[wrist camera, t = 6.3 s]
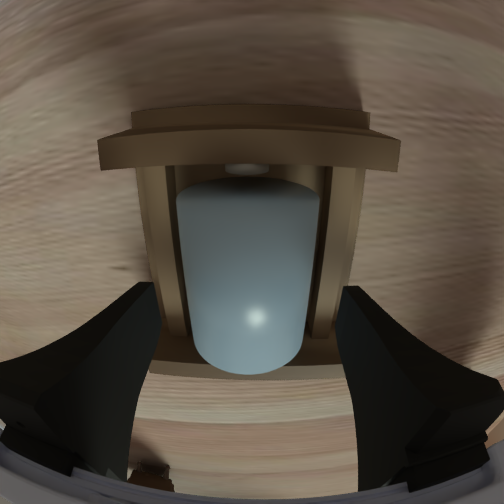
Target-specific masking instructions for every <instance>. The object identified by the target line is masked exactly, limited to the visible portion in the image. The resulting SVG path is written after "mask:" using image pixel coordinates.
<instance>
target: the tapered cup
mask: <svg viewBox="0 0 504 504" xmlns="http://www.w3.org/2000/svg"><path fill="white" fill-rule="evenodd" d="M319 201H320V199H319V196H318V195H317V193H316V192H314V191H313V190H312V189H310V188H308V187H306V186H304V185H301V184H298V183H295V182H291V181H287V180H282V179H276V178H268V177H229V178H220V179H214V180H209V181H205V182H201V183H198V184H195V185H192V186H190V187H188V188H186V189H184V190H183V191H182V192H180V193H179V194H178V196H177V198H176V205H177V216H178V226H179V236H180V245H181V253H182V262H183V270H184V278H185V285H186V292H187V299H188V306H189V313H190V320H191V326H192V332H193V338H194V343H195V346H196V349H197V351H198V352H199V354H200V355H201V356H202V357H203V358H204V359H205V360H206V361H207V362H208V363H210V364H211V365H213V366H215V367H217V368H219V369H221V370H224V371H227V372H230V373H235V374H244V375H252V374H261V373H266V372H270V371H273V370H275V369H278V368H280V367H282V366H284V365H285V364H287V363H288V362H289V361H290V360H292V359H293V358H294V357H295V355H296V354H297V353H298V351H299V350H300V348H301V345H302V340H303V334H304V327H305V321H306V314H307V307H308V299H309V292H310V284H311V276H312V268H313V260H314V251H315V242H316V233H317V223H318V212H319Z"/></svg>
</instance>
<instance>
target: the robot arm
mask: <svg viewBox="0 0 504 504" xmlns="http://www.w3.org/2000/svg"><path fill="white" fill-rule="evenodd" d="M161 327H162V319H161V315H160V310H159V305H158V301H157V296H156V291H155V286H154V282H138V283H137V284H136V285H134V286H133V287H132V288H130V289H129V290H128V291H127V292H125V293H124V294H123V295H122V296H120V297H119V298H118V299H117V300H115V301H114V302H113V303H112V304H110V305H109V306H108V307H107V308H105V309H104V310H103V311H101V312H100V313H99V314H97V315H96V316H95V317H93V318H92V319H90V320H89V321H88V322H86V323H85V324H83V325H82V326H80V327H79V328H77V329H76V330H74V331H73V332H71V333H69V334H68V335H66V336H64V337H62V338H61V339H59V340H57V341H55V342H53V343H51V344H49V345H47V346H45V347H43V348H40V349H38V350H36V351H33V352H31V353H28V354H26V355H23V356H20V357H17V358H14V359H11V360H7V361H4V362H0V419H1V420H2V421H3V422H4V423H5V424H6V426H5V428H4V430H2V429H1V428H0V496H1V497H3V498H4V499H6V500H7V501H9V502H11V503H12V504H504V439H503V440H501V441H499V442H497V443H495V444H493V445H492V446H490V447H489V448H487V449H486V447H485V444H484V442H486V441H487V440H488V436H487V434H486V432H485V431H486V430H487V429H488V428H489V426H490V425H491V424H492V423H493V422H494V421H495V420H496V419H497V418H498V417H499V416H500V414H501V413H502V412H503V410H504V391H503V389H502V387H501V385H500V383H499V381H498V380H497V379H495V378H492V377H489V376H486V375H484V374H481V373H478V372H475V371H473V370H471V369H469V368H467V367H464V366H462V365H460V364H458V363H456V362H454V361H452V360H450V359H449V358H447V357H445V356H443V355H442V354H440V353H438V352H437V351H435V350H433V349H432V348H430V347H429V346H427V345H426V344H425V343H423V342H422V341H420V340H419V339H417V338H416V337H415V336H413V335H412V334H411V333H410V332H408V331H407V330H406V329H405V328H404V327H402V326H401V325H400V324H399V323H398V322H396V321H395V320H394V319H393V318H392V317H391V316H390V315H389V314H388V313H387V312H385V311H384V310H383V309H382V308H381V307H380V306H379V305H378V304H377V303H376V302H375V301H374V300H373V299H372V298H371V297H370V296H369V295H368V294H367V293H366V292H365V291H363V290H362V289H361V288H360V287H359V286H343V289H342V294H341V299H340V304H339V309H338V313H337V318H336V323H335V333H336V340H337V346H338V351H339V355H340V358H341V362H342V365H343V369H344V373H345V376H346V380H347V383H348V387H349V391H350V394H351V399H352V404H353V411H354V419H355V427H356V438H357V452H358V492H354V493H348V494H341V495H333V496H324V497H313V498H299V499H271V500H259V499H231V498H217V497H206V496H197V495H189V494H182V493H175V492H169V491H163V490H158V489H153V488H148V487H143V486H139V485H134V484H130V483H127V469H128V456H129V448H130V439H131V433H132V427H133V421H134V416H135V411H136V406H137V402H138V397H139V394H140V391H141V388H142V385H143V382H144V379H145V377H146V374H147V371H148V368H149V366H150V363H151V360H152V358H153V355H154V352H155V350H156V347H157V344H158V340H159V336H160V331H161Z"/></svg>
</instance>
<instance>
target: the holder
mask: <svg viewBox="0 0 504 504" xmlns="http://www.w3.org/2000/svg"><path fill="white" fill-rule="evenodd" d="M131 116H132V129H129V130H126V131H123V132H120V133H116V134H113V135H110V136H107V137H104V138H102V139H99V140H97V142H98V152H99V160H100V169H101V171H102V170H112V169H124V168H136V176H137V185H138V193H139V201H140V209H141V216H142V223H143V229H144V236H145V242H146V248H147V254H148V259H149V265H150V270H151V275H152V281H153V282H154V286H155V291H156V296H157V301H158V305H159V310H160V315H161V319H162V327H161V331H160V336H159V340H158V344H157V347H156V350H155V352H154V355H153V358H152V360H151V363H150V366H149V368H148V369H149V372H150V373H154V374H163V375H173V376H184V377H197V378H212V379H234V380H308V379H329V378H344V377H346V376H345V373H344V369H343V365H342V362H341V358H340V355H339V351H338V346H337V340H336V333H335V323H336V318H337V313H338V309H339V304H340V299H341V294H342V289H343V286H348V281H349V276H350V271H351V266H352V260H353V255H354V249H355V243H356V237H357V231H358V224H359V217H360V211H361V203H362V196H363V188H364V179H365V170H366V169H371V170H381V171H391V172H397V170H398V162H399V154H400V144H401V140H398V139H395V138H393V137H390V136H387V135H384V134H382V133H379V132H376V131H373V130H370V129H369V125H370V113H369V112H363V111H355V110H347V109H337V108H327V107H314V106H299V105H275V104H224V105H200V106H184V107H172V108H161V109H152V110H143V111H136V112H131ZM229 177H268V178H276V179H282V180H287V181H291V182H295V183H298V184H301V185H304V186H306V187H308V188H310V189H312V190H313V191H314V192H316V193H317V195H318V196H319V199H320V201H319V212H318V223H317V233H316V242H315V251H314V260H313V268H312V276H311V284H310V292H309V299H308V307H307V314H306V321H305V327H304V334H303V340H302V345H301V348H300V350H299V351H298V353H297V354H296V355H295V357H294V358H293V359H292V360H290V361H289V362H288V363H287V364H285V365H284V366H282V367H280V368H278V369H275V370H273V371H270V372H266V373H261V374H252V375H244V374H235V373H230V372H227V371H224V370H221V369H219V368H217V367H215V366H213V365H211V364H210V363H208V362H207V361H206V360H205V359H204V358H203V357H202V356H201V355H200V354H199V352H198V351H197V349H196V346H195V343H194V338H193V332H192V326H191V320H190V313H189V306H188V299H187V292H186V285H185V278H184V270H183V262H182V253H181V245H180V236H179V226H178V216H177V205H176V198H177V196H178V194H179V193H180V192H182V191H183V190H184V189H186V188H188V187H190V186H192V185H195V184H198V183H201V182H205V181H209V180H214V179H220V178H229Z"/></svg>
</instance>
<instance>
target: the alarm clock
mask: <svg viewBox="0 0 504 504" xmlns="http://www.w3.org/2000/svg"><path fill="white" fill-rule="evenodd" d="M141 465H142V463H141V462H138V468H137V470H135V469H134V470H133V472H132V474H131V476H130V478H129V479H128V480H127V483H130V484H134V485H139V486H143V487H148V488H153V489H158V490H163V491H169V492H175V491H174V485H173V484H172V480H171V479H169V469H170V467H169V466H166V467H165V468H166V470H165V473H164V475H163V477H162V476H159V475H156V474H153V473H150V472H144V471H142V469H141Z"/></svg>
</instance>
